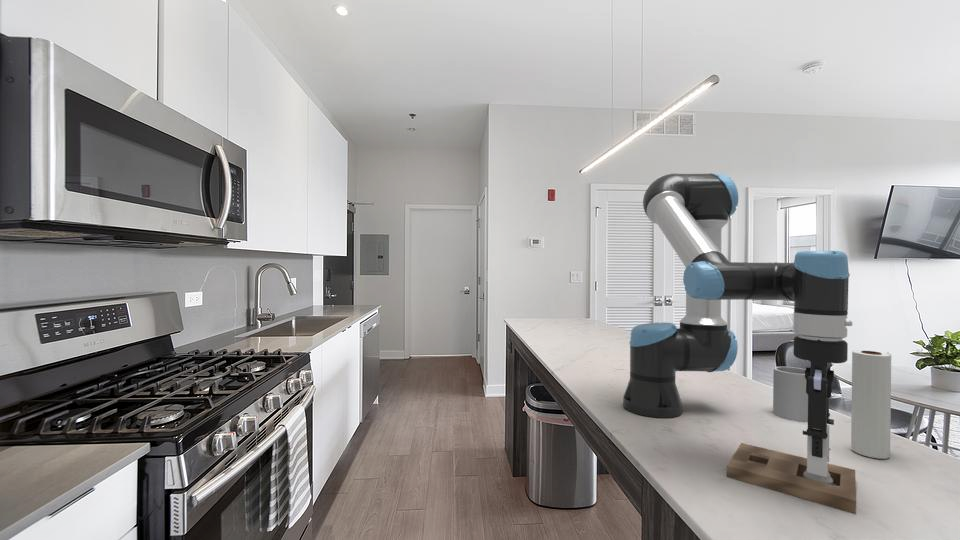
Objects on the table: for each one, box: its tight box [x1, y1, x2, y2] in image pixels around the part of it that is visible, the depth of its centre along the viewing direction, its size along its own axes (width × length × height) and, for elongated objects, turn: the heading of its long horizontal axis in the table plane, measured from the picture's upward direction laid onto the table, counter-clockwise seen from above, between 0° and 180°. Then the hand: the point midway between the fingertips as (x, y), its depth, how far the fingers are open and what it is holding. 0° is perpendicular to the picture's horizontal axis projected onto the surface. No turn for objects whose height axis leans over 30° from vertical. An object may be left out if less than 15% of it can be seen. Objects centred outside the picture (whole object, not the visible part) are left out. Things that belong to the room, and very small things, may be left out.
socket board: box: [726, 442, 857, 514], centre depth 79 cm, size 18×14×2 cm
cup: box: [772, 366, 808, 423], centre depth 113 cm, size 9×9×12 cm
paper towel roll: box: [850, 350, 892, 460], centre depth 90 cm, size 7×6×21 cm
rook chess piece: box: [802, 446, 834, 485], centre depth 76 cm, size 4×4×8 cm
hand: (818, 466), depth 76 cm, fingers open, 7 cm apart
